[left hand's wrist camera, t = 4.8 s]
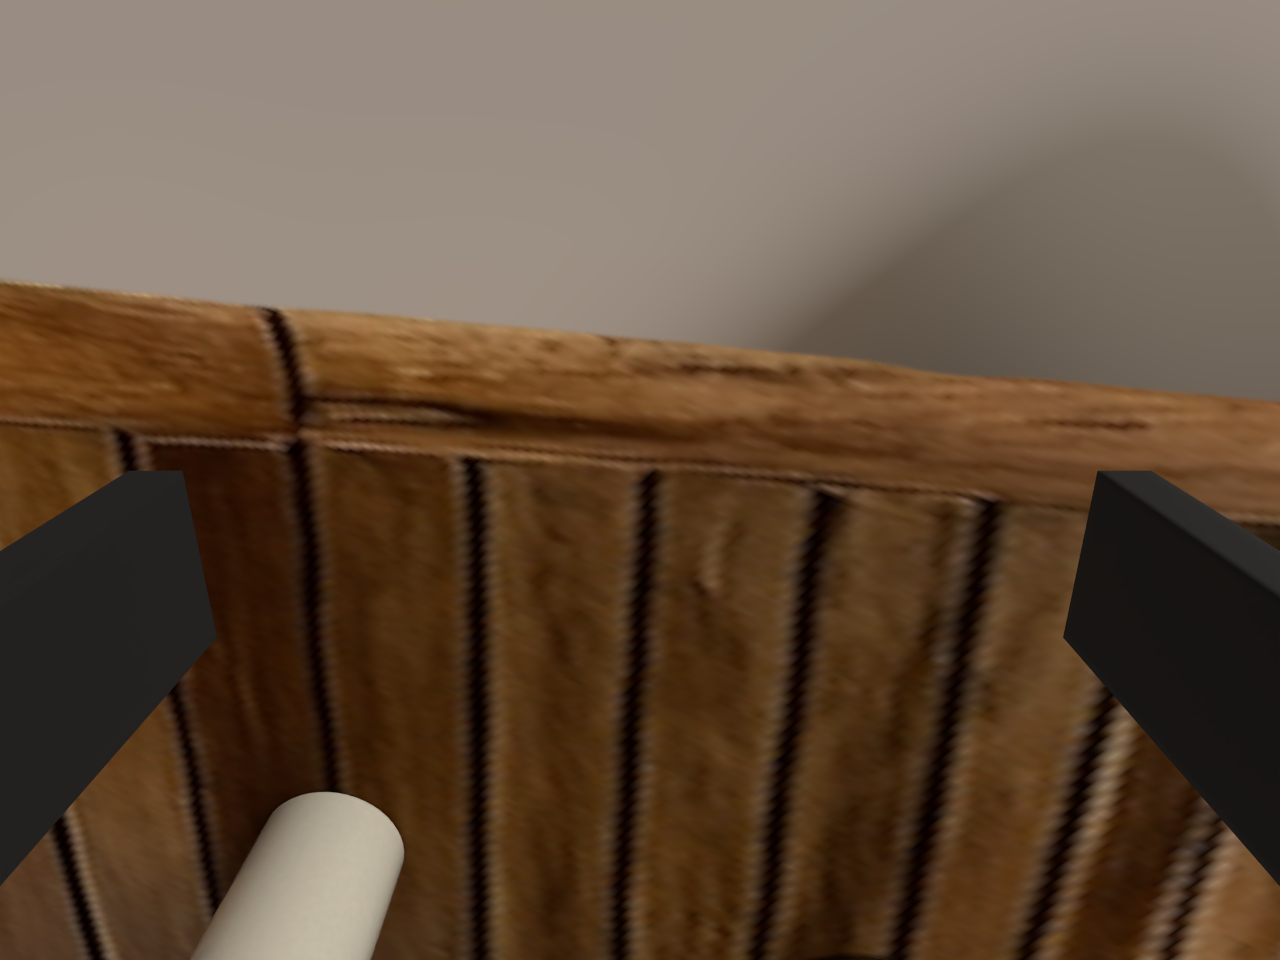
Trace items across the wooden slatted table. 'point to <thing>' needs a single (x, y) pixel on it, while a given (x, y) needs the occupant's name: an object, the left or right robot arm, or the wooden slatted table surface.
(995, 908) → the wooden slatted table surface
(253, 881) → the jar
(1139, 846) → the wooden slatted table surface
